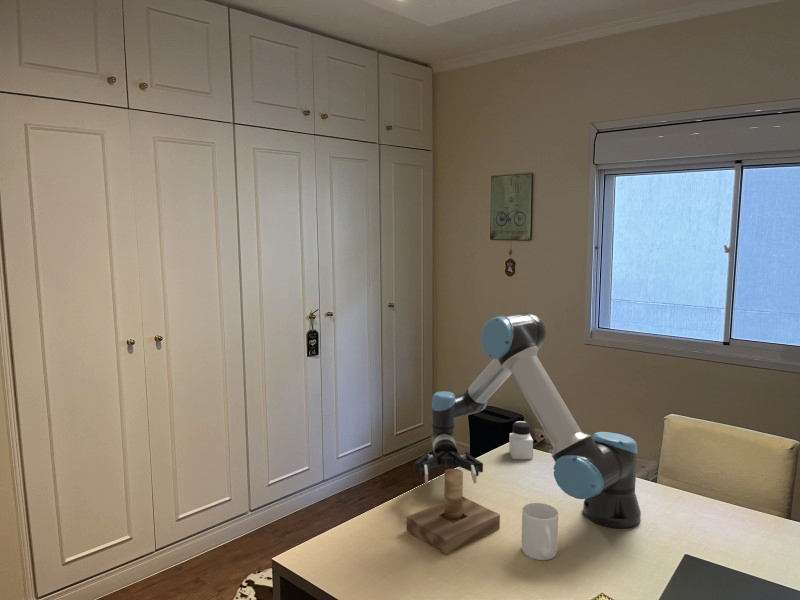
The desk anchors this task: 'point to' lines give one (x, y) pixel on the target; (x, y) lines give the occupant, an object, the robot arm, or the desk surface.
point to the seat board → (452, 526)
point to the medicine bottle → (521, 441)
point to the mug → (539, 531)
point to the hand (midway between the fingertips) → (450, 478)
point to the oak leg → (453, 495)
